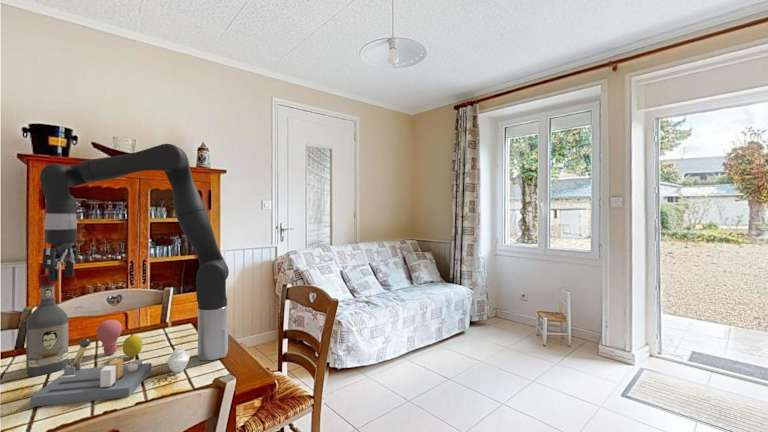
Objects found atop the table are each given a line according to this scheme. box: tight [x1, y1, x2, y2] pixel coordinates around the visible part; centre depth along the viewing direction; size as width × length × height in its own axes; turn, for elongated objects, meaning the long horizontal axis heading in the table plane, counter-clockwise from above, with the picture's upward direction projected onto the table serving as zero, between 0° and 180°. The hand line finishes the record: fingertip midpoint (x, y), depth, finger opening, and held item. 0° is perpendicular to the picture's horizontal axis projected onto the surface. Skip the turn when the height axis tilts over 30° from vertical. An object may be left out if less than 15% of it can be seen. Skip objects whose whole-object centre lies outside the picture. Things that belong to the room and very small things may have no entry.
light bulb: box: [96, 319, 123, 355], centre depth 124 cm, size 7×7×12 cm
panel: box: [30, 358, 153, 408], centre depth 101 cm, size 22×16×4 cm
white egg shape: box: [166, 348, 190, 374], centre depth 112 cm, size 6×6×7 cm
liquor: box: [25, 273, 69, 377], centre depth 112 cm, size 9×9×30 cm
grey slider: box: [100, 365, 116, 387], centre depth 97 cm, size 2×3×4 cm
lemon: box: [122, 333, 143, 358], centre depth 121 cm, size 6×6×8 cm
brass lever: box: [72, 337, 92, 370], centre depth 105 cm, size 3×3×9 cm
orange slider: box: [108, 358, 124, 379], centre depth 101 cm, size 2×3×4 cm
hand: (61, 278), depth 112 cm, fingers open, 8 cm apart
